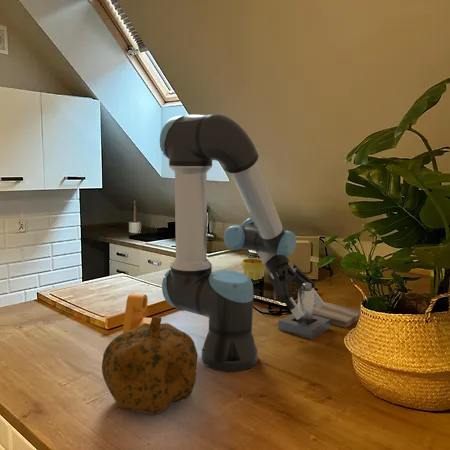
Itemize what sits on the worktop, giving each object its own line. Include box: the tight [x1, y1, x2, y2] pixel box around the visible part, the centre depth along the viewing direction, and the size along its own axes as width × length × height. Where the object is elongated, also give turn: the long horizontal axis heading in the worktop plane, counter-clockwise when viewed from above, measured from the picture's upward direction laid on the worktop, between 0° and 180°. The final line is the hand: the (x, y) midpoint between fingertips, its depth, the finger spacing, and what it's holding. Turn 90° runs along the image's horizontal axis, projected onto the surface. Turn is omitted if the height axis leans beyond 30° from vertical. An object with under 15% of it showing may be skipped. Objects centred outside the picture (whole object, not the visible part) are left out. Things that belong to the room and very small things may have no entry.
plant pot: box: [241, 257, 267, 280], centre depth 196 cm, size 10×10×10 cm
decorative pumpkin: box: [101, 315, 198, 415], centre depth 99 cm, size 20×21×20 cm
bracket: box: [122, 292, 152, 334], centre depth 138 cm, size 11×7×12 cm, turn 168°
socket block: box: [277, 313, 331, 340], centre depth 144 cm, size 12×12×3 cm
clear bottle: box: [297, 282, 315, 325], centre depth 143 cm, size 5×5×15 cm
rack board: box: [313, 301, 361, 329], centre depth 157 cm, size 14×19×2 cm
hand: (311, 312), depth 142 cm, fingers open, 13 cm apart
